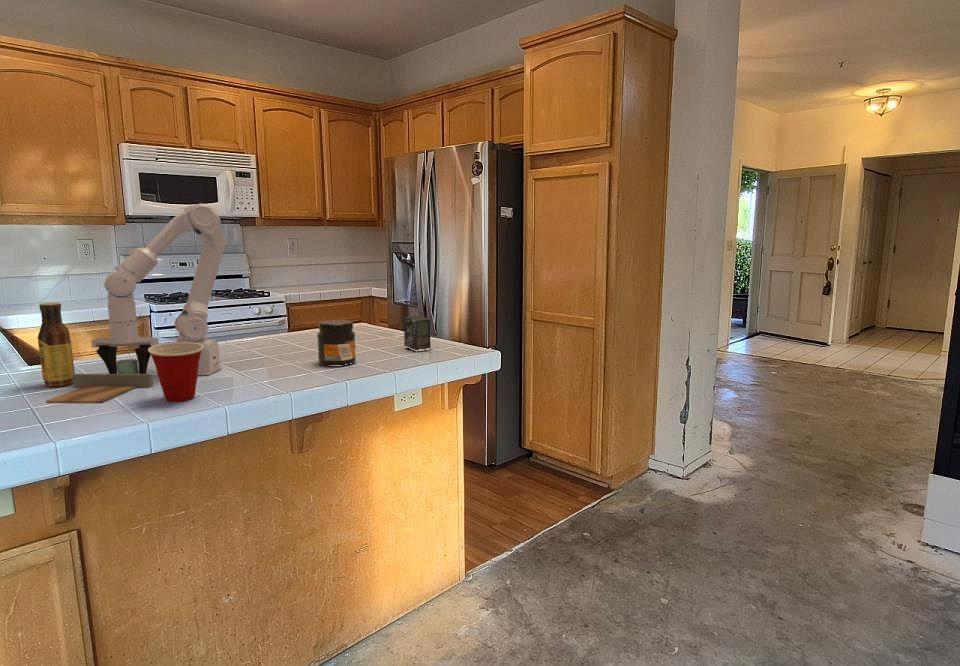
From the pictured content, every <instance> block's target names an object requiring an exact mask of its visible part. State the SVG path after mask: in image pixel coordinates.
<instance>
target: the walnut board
mask: <svg viewBox="0 0 960 666" xmlns="http://www.w3.org/2000/svg"><path fill="white" fill-rule="evenodd" d="M134 389H136V387H91V386H84V387H78V388H76V389H74V390H71V391H68V392H65V393H64V394H60V395H58V396H56V397H53V398H49V399H48V400H45V401H46V404H50V403H51V404H52V403H53V404H54V403H56V404H58V403H59V404H60V403H63V404H64V403H67V404H69V403H70V404H104V403H105V402H108V401H110V400H112V399H115V398H117V397H119V396H121V395H123V394H126V393H129V392H131V391H133V390H134Z"/></svg>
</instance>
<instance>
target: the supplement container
mask: <svg viewBox="0 0 960 666" xmlns="http://www.w3.org/2000/svg"><path fill="white" fill-rule="evenodd" d="M353 329H354V322H353V321H351V320H346V319H332V320H329V319H328V320H324V321H319V322H318V330H319V331H318V333H316V334H317V335H316V337H317V350H318V351H317V352H318V353H317V354H318V357H317V359H318V363H319V364H320V365H321V364H323V365H345V364H350V363H353V362H354V363H355V362H356V358H357V357H356V333H355V331H354V330H353ZM354 363H353V364H354ZM323 365H322V366H323ZM350 365H351V364H350Z"/></svg>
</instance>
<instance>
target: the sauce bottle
mask: <svg viewBox="0 0 960 666" xmlns="http://www.w3.org/2000/svg"><path fill="white" fill-rule="evenodd" d="M38 306H39V311H40V314H41V324H40V325H41V326H40V327H39V333H38V335H37V344H38V352H39V359H40V365H41V373H42V380H43V382H44V385H45V386H46V387H47V388H59V387H66V386H70V385H72V384H73V385H74V380H73V375H74V374H76V371H75V364H74V356H73V347H72V340H71V336H70V335H71V334H70V330H69V328H68V327H67V326H66V325H65V324H64V322H63V319H62V313H61V312H62V311H61V310H62V303H60V302H45V303H40V304H39V305H38Z"/></svg>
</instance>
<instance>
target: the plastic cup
mask: <svg viewBox="0 0 960 666" xmlns="http://www.w3.org/2000/svg"><path fill="white" fill-rule="evenodd" d="M203 348H204V347H203V345H202V344H199V343H194V342H177V341H172V342H163V343H158V345H154V346H152V347H150V348H148V352H149V353H150V354H151V356H150V357H151V358H152V360H153V363H154V366H155V369H156V373H157V376H158V380H159V383H160V387H161V389H162V393H163V397H164V398H165V401H166V402H168V403H169V402H171V403H179V402H185V401H189V400H193V399H194V398H195V396H196V389H197V383H198V376H199V375H198V366H199V360H200V355H201V351H202V350H203Z"/></svg>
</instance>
